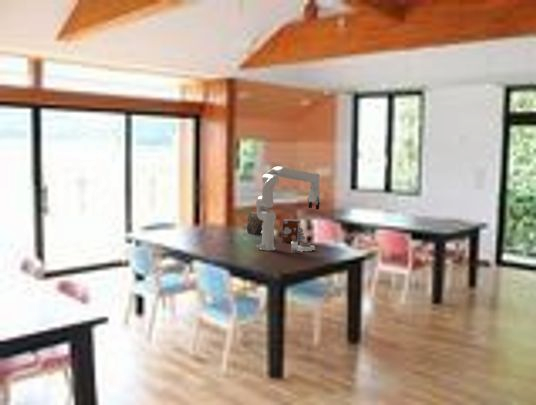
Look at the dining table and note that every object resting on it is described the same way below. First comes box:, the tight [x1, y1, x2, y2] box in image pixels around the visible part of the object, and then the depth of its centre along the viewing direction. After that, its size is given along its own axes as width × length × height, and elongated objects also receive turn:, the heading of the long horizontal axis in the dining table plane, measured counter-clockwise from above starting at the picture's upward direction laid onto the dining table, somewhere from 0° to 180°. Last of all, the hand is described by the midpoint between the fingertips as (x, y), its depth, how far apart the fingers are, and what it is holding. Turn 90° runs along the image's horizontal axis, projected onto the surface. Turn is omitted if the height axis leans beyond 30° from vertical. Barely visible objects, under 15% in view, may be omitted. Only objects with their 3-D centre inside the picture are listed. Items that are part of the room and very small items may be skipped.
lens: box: [290, 240, 299, 254], centre depth 439 cm, size 5×5×9 cm
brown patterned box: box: [281, 218, 306, 244], centre depth 485 cm, size 9×19×20 cm, turn 78°
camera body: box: [298, 241, 316, 253], centre depth 451 cm, size 13×9×6 cm
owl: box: [246, 211, 264, 236], centre depth 527 cm, size 13×13×20 cm
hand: (313, 208), depth 471 cm, fingers open, 9 cm apart
